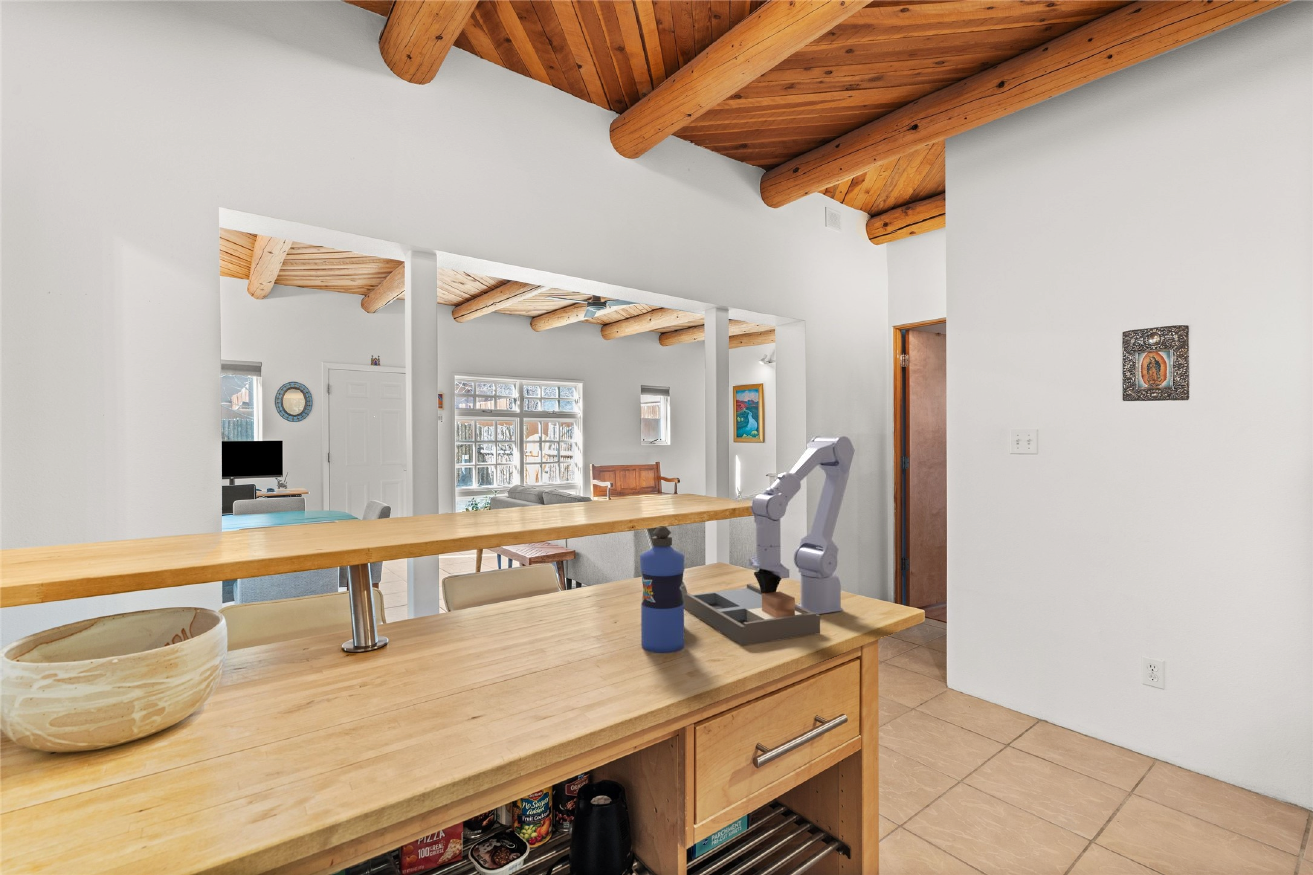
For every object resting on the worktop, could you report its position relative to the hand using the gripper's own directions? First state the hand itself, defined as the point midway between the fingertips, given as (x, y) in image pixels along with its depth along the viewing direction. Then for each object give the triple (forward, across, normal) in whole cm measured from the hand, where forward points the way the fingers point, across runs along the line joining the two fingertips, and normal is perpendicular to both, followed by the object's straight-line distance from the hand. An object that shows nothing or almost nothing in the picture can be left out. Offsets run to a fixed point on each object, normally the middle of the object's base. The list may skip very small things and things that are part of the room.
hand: (768, 601), depth 144 cm
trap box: (+4, -3, -4) cm, 7 cm away
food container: (+5, -5, -22) cm, 23 cm away
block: (+1, +4, 0) cm, 5 cm away
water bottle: (+5, +5, -30) cm, 30 cm away
